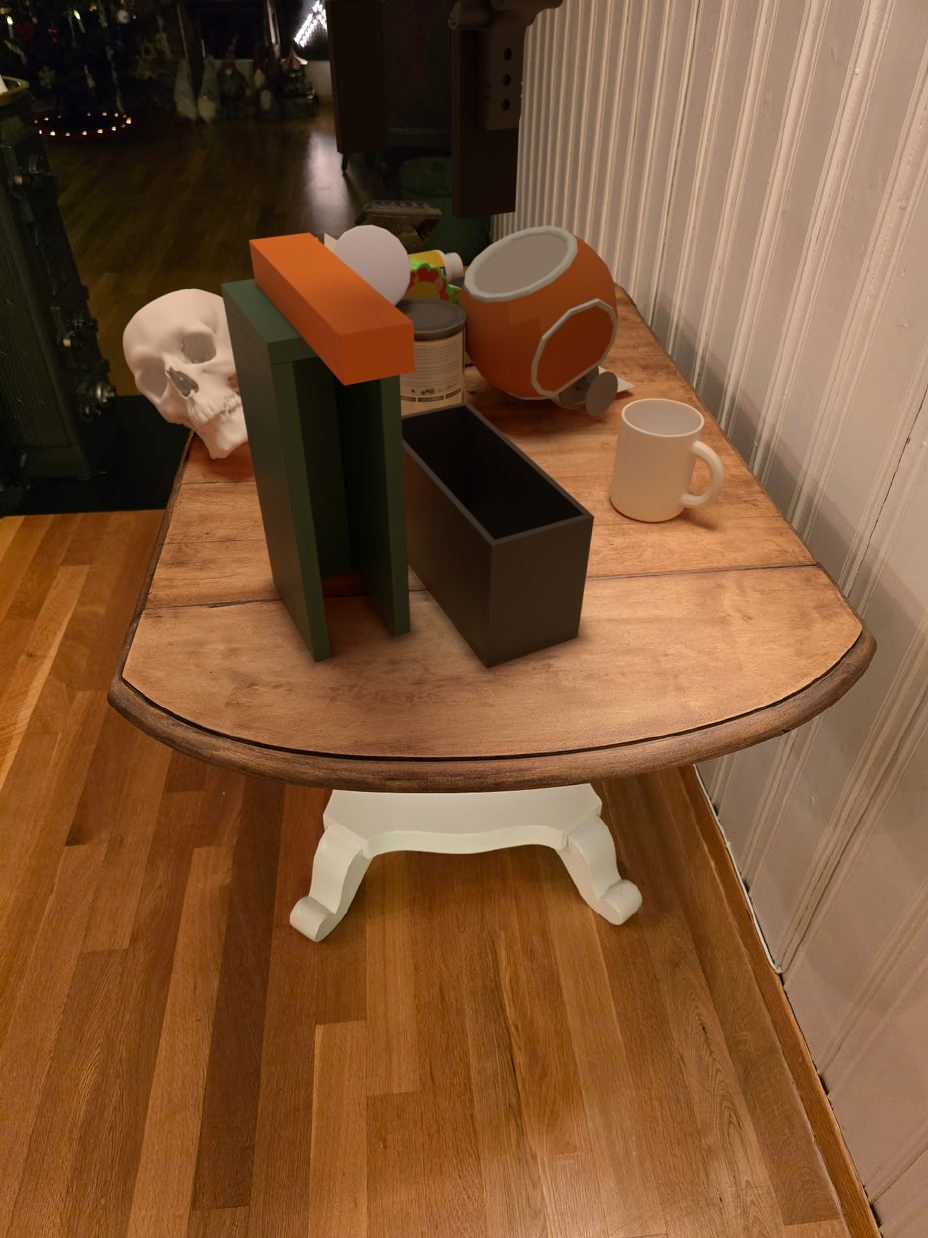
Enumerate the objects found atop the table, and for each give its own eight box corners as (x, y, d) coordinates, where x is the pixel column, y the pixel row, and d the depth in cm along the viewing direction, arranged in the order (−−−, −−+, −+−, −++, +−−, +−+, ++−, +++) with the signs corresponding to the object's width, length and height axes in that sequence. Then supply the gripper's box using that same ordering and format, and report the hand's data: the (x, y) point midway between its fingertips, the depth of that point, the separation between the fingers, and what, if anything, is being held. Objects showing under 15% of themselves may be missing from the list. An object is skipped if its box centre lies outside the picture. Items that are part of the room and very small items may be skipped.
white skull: (174, 485, 88) (72, 335, 87) (250, 485, 108) (168, 362, 107) (272, 410, 85) (167, 254, 84) (333, 424, 105) (248, 297, 104)
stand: (411, 631, 73) (397, 319, 55) (314, 662, 70) (267, 342, 52) (362, 559, 81) (336, 266, 63) (273, 584, 78) (220, 283, 60)
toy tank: (389, 257, 149) (421, 302, 149) (282, 262, 127) (320, 315, 127) (436, 198, 140) (470, 246, 140) (330, 192, 118) (370, 249, 118)
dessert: (509, 381, 112) (510, 346, 109) (578, 362, 117) (581, 328, 114) (563, 415, 105) (566, 380, 102) (634, 394, 110) (639, 359, 107)
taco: (453, 350, 120) (454, 240, 110) (481, 361, 117) (483, 249, 107) (371, 383, 111) (363, 266, 101) (398, 396, 109) (393, 277, 99)
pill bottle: (402, 262, 130) (465, 250, 134) (384, 253, 134) (446, 242, 139) (405, 304, 134) (466, 291, 138) (387, 294, 138) (448, 282, 143)
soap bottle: (352, 327, 91) (339, 334, 114) (425, 290, 92) (397, 305, 115) (313, 247, 88) (307, 271, 111) (388, 209, 89) (367, 241, 112)
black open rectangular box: (578, 636, 73) (594, 516, 65) (486, 668, 70) (491, 545, 62) (465, 512, 88) (467, 401, 80) (386, 533, 85) (379, 420, 77)
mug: (730, 515, 88) (753, 427, 82) (690, 548, 84) (711, 458, 77) (635, 475, 94) (650, 390, 88) (593, 503, 90) (605, 416, 83)
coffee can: (365, 425, 102) (357, 311, 93) (428, 400, 108) (426, 290, 98) (418, 456, 97) (415, 338, 87) (482, 428, 102) (485, 315, 93)
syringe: (628, 379, 103) (475, 308, 120) (603, 358, 98) (447, 288, 115) (601, 426, 105) (454, 350, 122) (574, 409, 99) (425, 332, 117)
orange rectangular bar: (415, 372, 49) (414, 322, 47) (344, 385, 47) (339, 334, 45) (314, 274, 62) (309, 232, 60) (255, 283, 60) (248, 239, 58)
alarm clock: (495, 345, 86) (408, 258, 93) (519, 442, 102) (443, 361, 109) (640, 243, 87) (543, 166, 95) (641, 354, 103) (558, 280, 111)
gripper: (765, -740, 19) (634, 237, 33) (357, -437, 36) (385, 125, 49) (478, -850, 16) (468, 264, 30) (183, -467, 33) (264, 136, 47)
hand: (416, 179), depth 40 cm, fingers open, 13 cm apart
